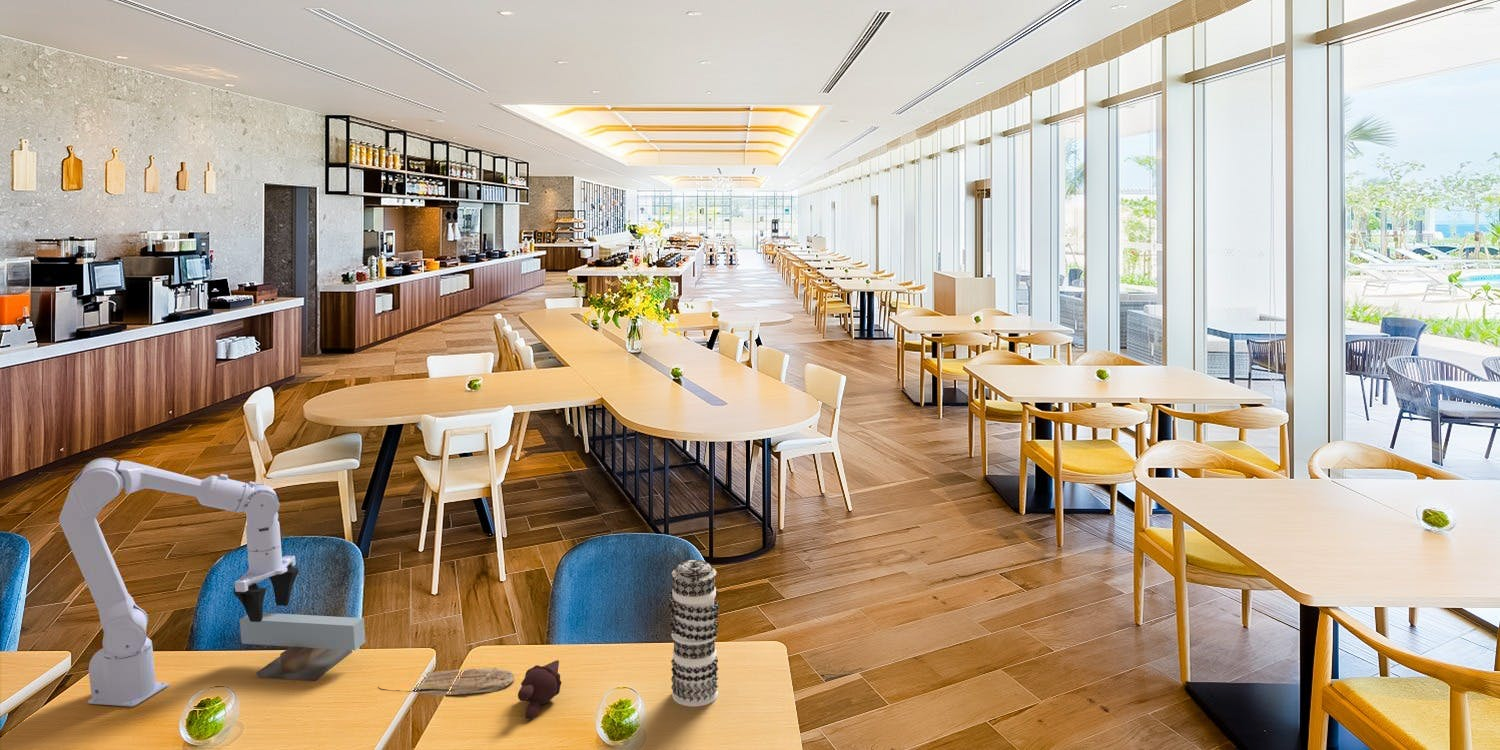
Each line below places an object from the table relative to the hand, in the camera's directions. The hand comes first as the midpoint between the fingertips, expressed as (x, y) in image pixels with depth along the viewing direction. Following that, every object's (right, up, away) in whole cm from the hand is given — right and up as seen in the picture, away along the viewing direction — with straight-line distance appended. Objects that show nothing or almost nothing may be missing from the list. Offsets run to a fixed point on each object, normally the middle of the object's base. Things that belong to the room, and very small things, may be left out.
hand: (269, 612), depth 165 cm
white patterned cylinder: (+85, -12, -11) cm, 87 cm away
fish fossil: (+37, -12, -6) cm, 40 cm away
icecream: (+57, -12, -13) cm, 60 cm away
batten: (+7, -6, 0) cm, 9 cm away
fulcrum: (+7, -10, +1) cm, 12 cm away
